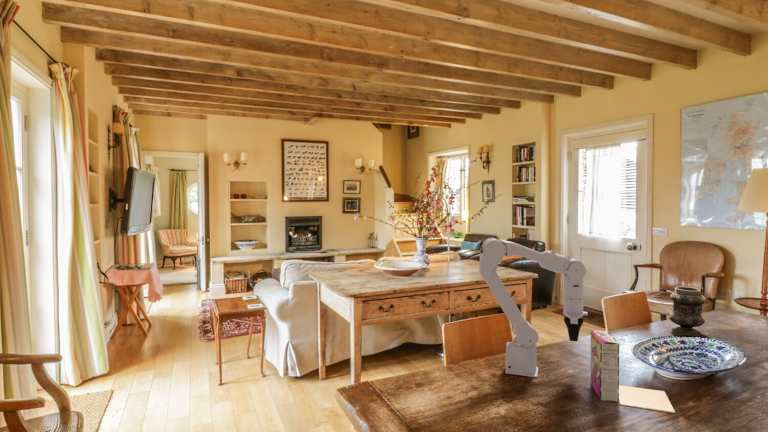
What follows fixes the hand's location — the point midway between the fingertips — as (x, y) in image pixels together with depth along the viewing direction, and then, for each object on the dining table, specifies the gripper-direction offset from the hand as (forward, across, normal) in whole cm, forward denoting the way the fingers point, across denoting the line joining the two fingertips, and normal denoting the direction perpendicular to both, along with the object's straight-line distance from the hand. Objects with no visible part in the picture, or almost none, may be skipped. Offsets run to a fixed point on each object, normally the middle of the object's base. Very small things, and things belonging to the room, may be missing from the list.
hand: (573, 340), depth 139 cm
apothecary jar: (+12, +61, -44) cm, 76 cm away
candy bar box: (+11, -12, -8) cm, 18 cm away
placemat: (+11, -12, -17) cm, 24 cm away
